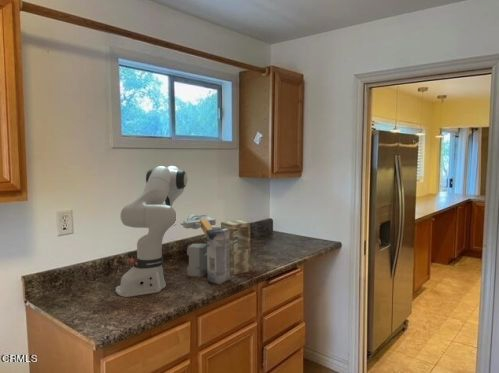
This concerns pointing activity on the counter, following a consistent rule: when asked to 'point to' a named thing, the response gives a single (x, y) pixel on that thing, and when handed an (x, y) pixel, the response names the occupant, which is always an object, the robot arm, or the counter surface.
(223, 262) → the juice carton
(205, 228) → the orange bar
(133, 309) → the counter surface
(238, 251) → the birch stool
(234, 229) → the baking soda box
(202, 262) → the circuit breaker
